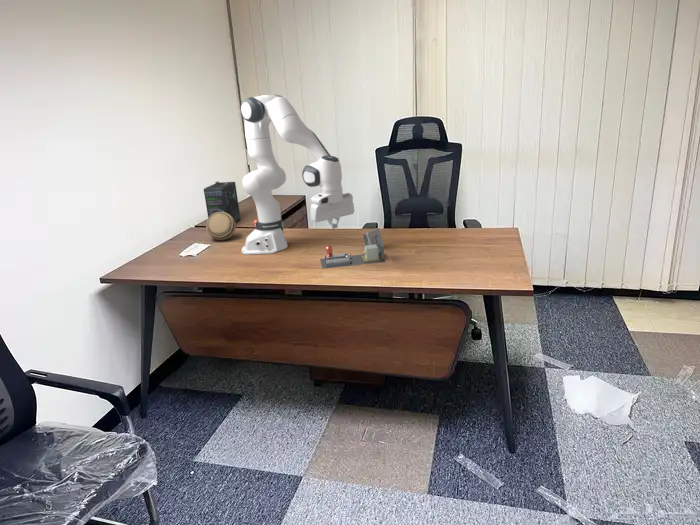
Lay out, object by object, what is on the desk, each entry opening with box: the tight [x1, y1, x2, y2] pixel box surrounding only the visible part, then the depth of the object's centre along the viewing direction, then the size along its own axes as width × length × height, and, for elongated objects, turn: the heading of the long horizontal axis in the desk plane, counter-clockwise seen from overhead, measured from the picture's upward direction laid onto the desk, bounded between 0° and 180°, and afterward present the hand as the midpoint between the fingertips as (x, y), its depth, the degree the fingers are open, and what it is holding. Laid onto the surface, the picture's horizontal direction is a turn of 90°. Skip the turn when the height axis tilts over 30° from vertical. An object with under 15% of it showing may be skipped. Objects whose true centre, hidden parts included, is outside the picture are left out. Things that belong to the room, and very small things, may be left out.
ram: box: [325, 245, 352, 260], centre depth 208 cm, size 11×3×7 cm, turn 98°
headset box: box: [203, 181, 241, 224], centre depth 285 cm, size 22×12×26 cm, turn 174°
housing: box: [362, 245, 378, 260], centre depth 210 cm, size 6×5×5 cm
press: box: [319, 241, 386, 270], centre depth 209 cm, size 27×13×7 cm, turn 98°
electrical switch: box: [362, 227, 384, 246], centre depth 225 cm, size 9×5×9 cm, turn 141°
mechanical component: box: [205, 212, 237, 241], centre depth 256 cm, size 15×15×15 cm
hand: (333, 228), depth 204 cm, fingers closed
